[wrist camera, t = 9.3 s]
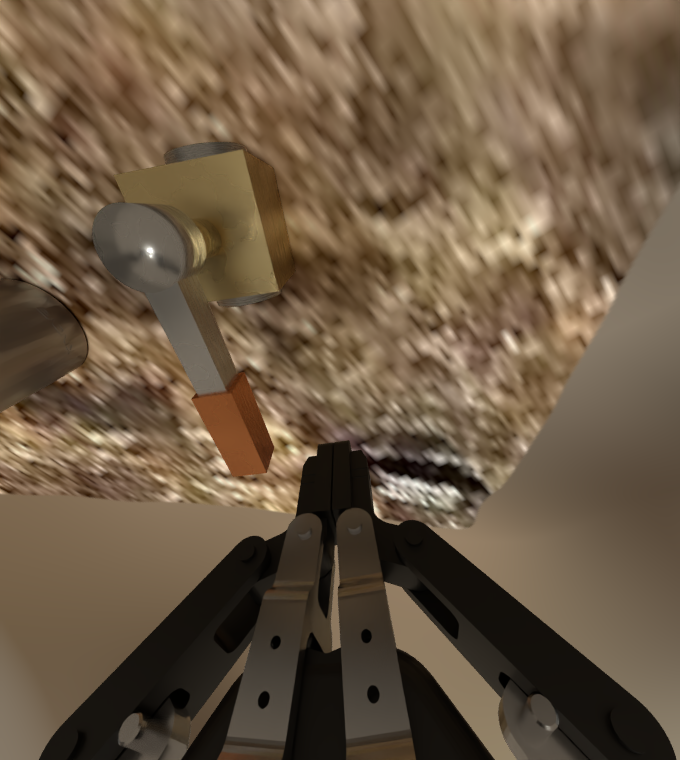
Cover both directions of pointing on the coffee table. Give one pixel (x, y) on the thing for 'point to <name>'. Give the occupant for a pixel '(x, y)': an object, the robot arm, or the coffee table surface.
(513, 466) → the coffee table surface
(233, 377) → the valve lever
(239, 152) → the valve housing
